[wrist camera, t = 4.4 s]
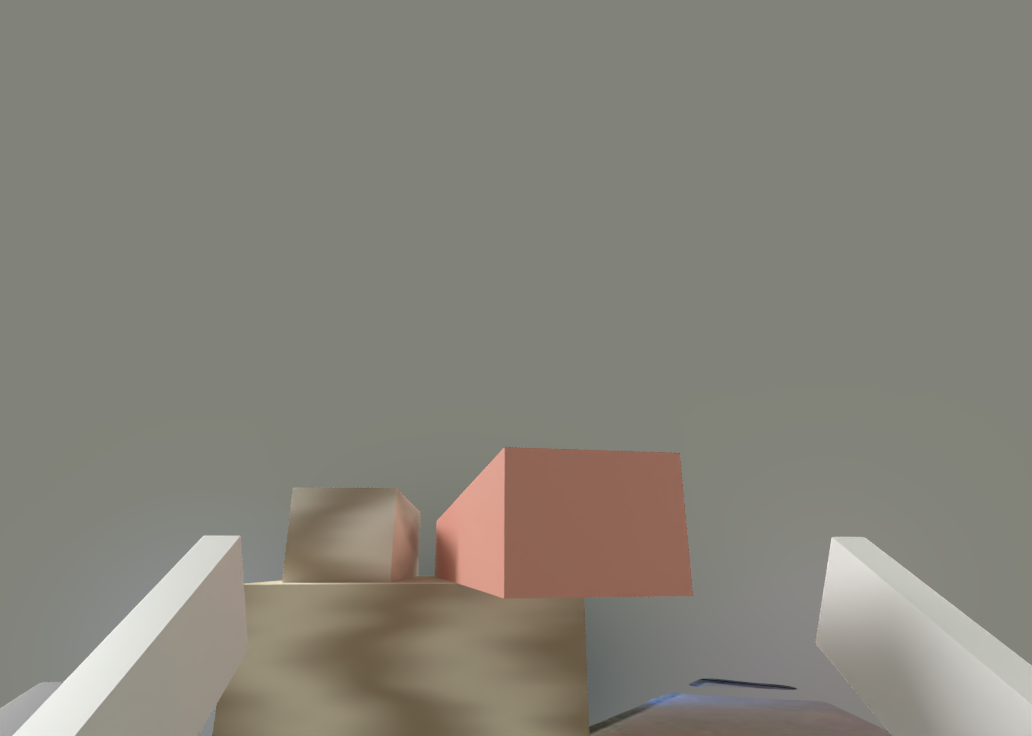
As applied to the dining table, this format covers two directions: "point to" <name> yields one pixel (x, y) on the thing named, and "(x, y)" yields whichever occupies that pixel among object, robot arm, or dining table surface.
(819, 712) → the dining table surface
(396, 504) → the tall wood-grain block
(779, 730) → the dining table surface
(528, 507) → the stub
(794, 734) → the dining table surface
